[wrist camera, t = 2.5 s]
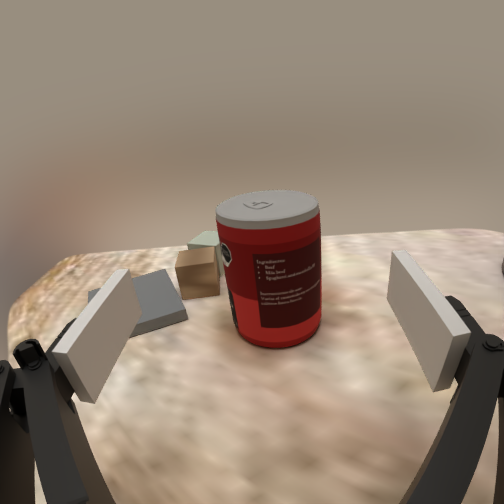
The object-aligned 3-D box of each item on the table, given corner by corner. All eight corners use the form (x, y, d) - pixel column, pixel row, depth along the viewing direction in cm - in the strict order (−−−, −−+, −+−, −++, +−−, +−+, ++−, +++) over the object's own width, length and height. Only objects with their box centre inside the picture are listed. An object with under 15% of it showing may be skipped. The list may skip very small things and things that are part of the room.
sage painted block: (209, 259, 42) (204, 230, 41) (236, 261, 41) (232, 232, 39) (193, 273, 39) (187, 243, 38) (221, 277, 38) (215, 245, 36)
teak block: (219, 277, 37) (214, 246, 36) (219, 295, 34) (213, 262, 32) (186, 282, 37) (179, 251, 36) (182, 300, 34) (174, 267, 32)
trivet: (167, 277, 39) (165, 268, 38) (188, 318, 30) (185, 308, 30) (91, 300, 35) (88, 291, 35) (92, 348, 27) (87, 338, 26)
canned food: (260, 292, 33) (248, 187, 29) (334, 307, 29) (333, 192, 25) (216, 334, 28) (192, 215, 23) (299, 361, 24) (293, 225, 19)
